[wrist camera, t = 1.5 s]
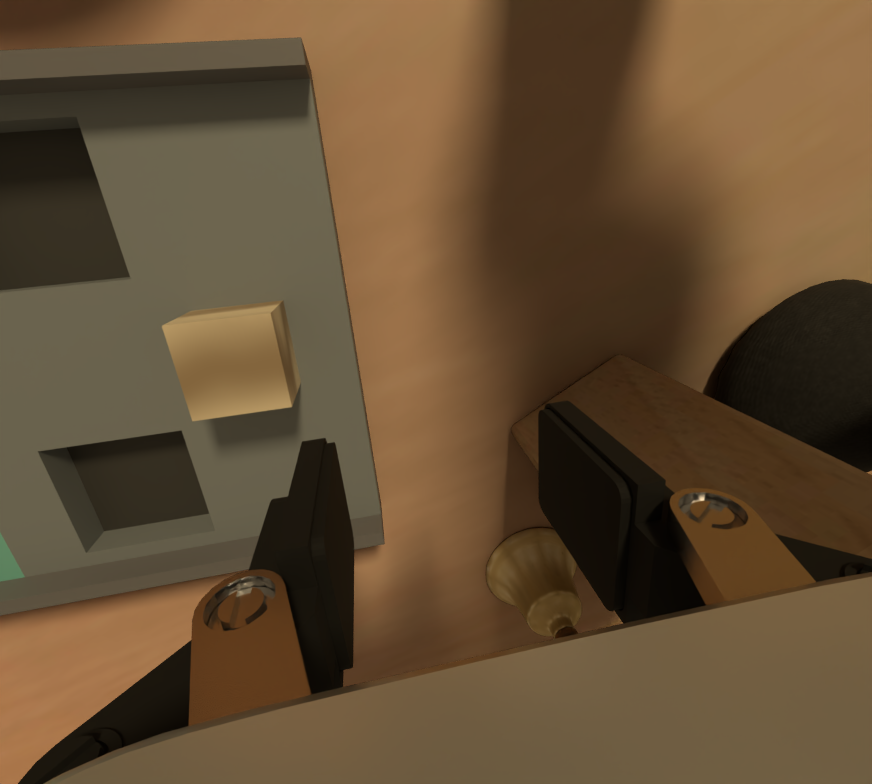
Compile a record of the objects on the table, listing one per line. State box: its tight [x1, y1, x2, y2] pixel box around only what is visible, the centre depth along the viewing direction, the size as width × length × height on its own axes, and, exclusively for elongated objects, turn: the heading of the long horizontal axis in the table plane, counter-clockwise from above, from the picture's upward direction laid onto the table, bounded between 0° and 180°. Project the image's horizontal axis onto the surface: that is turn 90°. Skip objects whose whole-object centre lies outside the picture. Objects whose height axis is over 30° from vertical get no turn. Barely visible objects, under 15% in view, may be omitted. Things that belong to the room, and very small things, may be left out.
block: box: [162, 300, 301, 421], centre depth 24 cm, size 5×5×4 cm
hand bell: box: [486, 528, 582, 639], centre depth 31 cm, size 8×8×16 cm
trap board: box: [0, 38, 385, 616], centre depth 25 cm, size 28×30×4 cm
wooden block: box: [511, 355, 872, 559], centre depth 26 cm, size 10×10×20 cm
